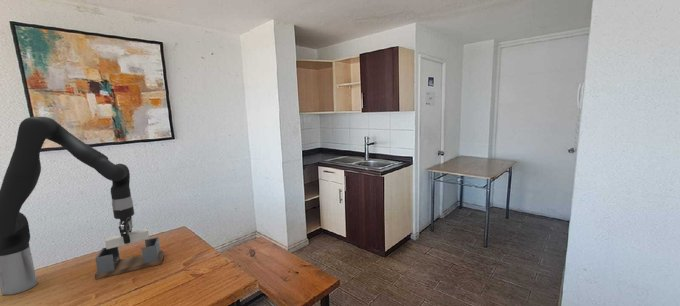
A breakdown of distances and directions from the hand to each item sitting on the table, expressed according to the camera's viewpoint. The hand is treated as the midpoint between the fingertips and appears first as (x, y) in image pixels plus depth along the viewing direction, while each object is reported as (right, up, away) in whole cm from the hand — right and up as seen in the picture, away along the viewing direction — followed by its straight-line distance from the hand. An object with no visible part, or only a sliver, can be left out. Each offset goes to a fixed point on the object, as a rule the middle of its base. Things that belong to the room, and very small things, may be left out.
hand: (128, 240), depth 130 cm
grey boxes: (0, -10, +2) cm, 11 cm away
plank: (0, -12, +2) cm, 13 cm away
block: (0, -1, 0) cm, 1 cm away
